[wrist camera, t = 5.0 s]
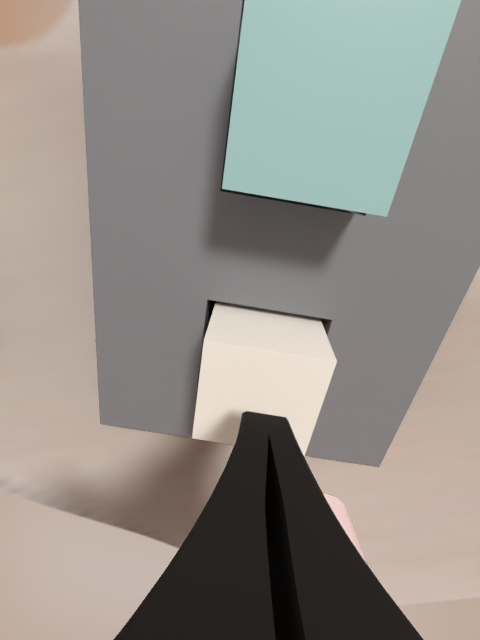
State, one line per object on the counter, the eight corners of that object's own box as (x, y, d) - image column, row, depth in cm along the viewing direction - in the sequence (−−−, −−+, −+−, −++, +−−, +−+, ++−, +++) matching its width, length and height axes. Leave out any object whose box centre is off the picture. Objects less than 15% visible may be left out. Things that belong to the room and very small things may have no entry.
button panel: (116, 397, 18) (100, 424, 16) (88, -927, 5) (2, -1481, 4) (367, 436, 18) (379, 467, 16) (893, -737, 6) (1192, -1161, 4)
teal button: (231, 182, 11) (221, 188, 8) (252, 19, 9) (249, -44, 6) (354, 203, 11) (386, 216, 8) (400, 46, 9) (463, -6, 7)
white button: (204, 386, 15) (192, 438, 12) (215, 301, 13) (203, 339, 10) (296, 400, 15) (304, 455, 12) (320, 318, 13) (337, 361, 11)
